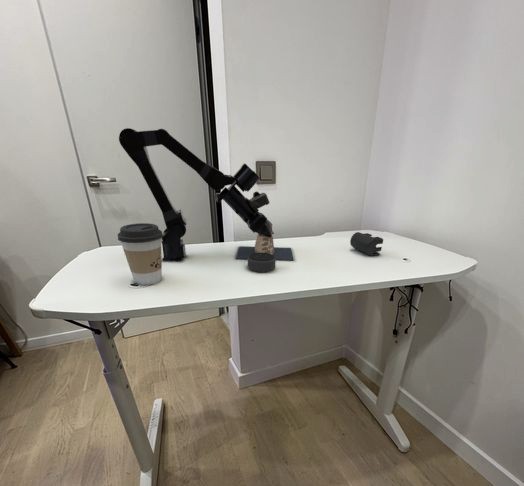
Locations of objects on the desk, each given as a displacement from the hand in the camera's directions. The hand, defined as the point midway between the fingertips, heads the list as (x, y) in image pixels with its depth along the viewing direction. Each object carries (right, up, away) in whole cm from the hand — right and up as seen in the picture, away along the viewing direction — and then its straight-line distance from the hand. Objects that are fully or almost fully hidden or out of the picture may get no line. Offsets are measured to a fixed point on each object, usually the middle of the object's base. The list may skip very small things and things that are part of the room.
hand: (268, 234), depth 104 cm
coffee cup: (-35, -18, -21) cm, 44 cm away
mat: (-1, -6, +3) cm, 7 cm away
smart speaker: (-3, -13, -10) cm, 17 cm away
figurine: (-2, -6, +3) cm, 7 cm away
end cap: (+37, -5, +7) cm, 38 cm away
